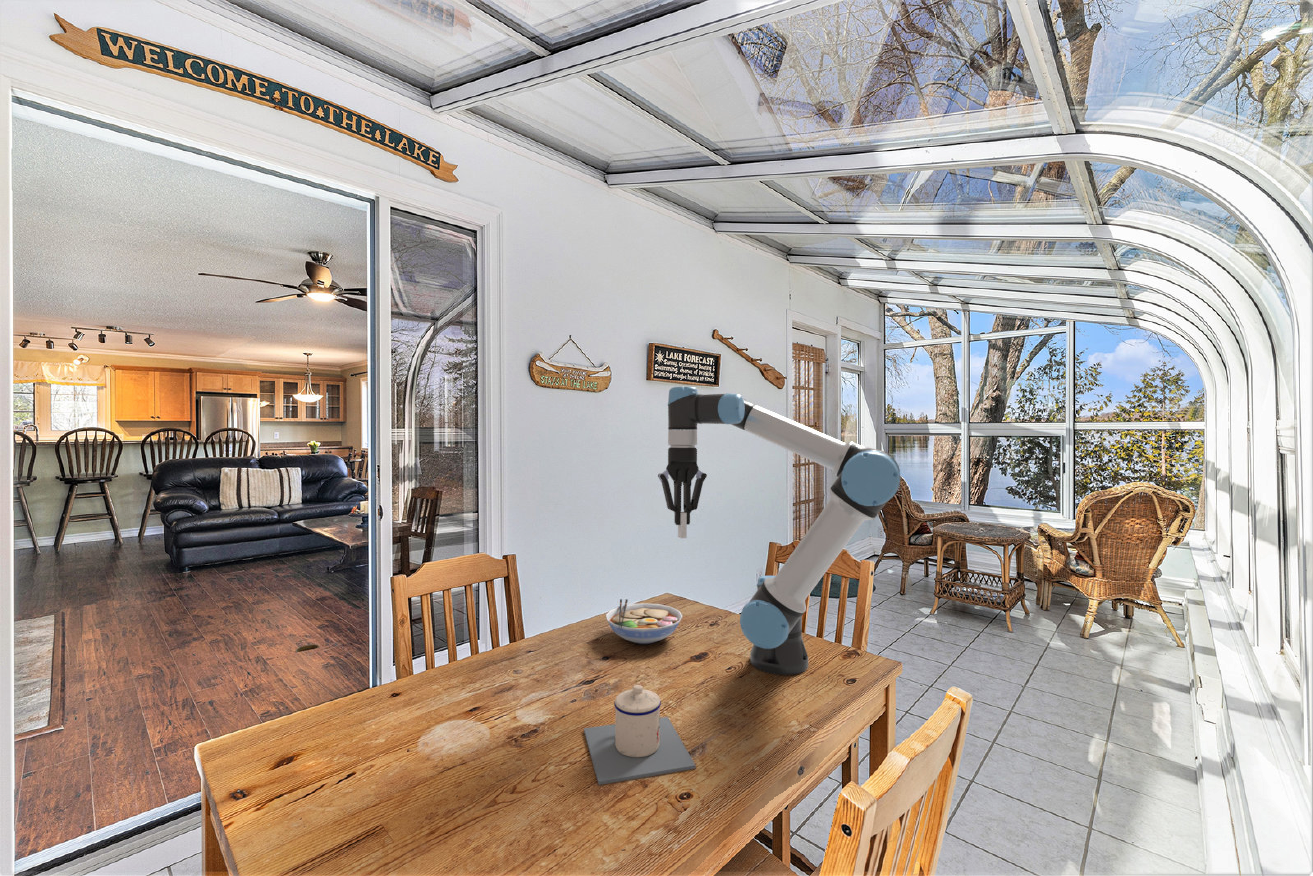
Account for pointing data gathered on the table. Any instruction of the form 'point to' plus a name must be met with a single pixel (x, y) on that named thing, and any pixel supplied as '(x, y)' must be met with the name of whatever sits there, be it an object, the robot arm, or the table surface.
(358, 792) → the table surface
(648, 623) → the ramen bowl
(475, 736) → the table surface
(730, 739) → the table surface
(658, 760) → the slate mat
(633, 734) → the teacup with lid
